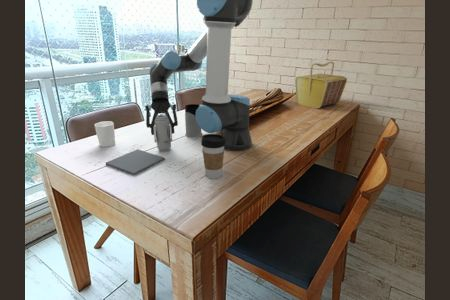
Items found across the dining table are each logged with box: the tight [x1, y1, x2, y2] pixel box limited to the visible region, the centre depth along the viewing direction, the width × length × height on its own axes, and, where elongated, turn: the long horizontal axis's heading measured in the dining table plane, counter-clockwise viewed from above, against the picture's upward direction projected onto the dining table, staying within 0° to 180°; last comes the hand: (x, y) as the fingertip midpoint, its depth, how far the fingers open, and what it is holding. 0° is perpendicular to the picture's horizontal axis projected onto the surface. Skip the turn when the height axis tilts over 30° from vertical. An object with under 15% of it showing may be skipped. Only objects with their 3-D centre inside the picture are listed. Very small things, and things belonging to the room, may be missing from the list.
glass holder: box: [184, 103, 203, 139], centre depth 138 cm, size 9×14×15 cm, turn 152°
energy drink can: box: [155, 114, 172, 152], centre depth 118 cm, size 6×6×15 cm
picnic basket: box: [294, 61, 348, 110], centre depth 197 cm, size 29×26×30 cm
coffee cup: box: [200, 133, 226, 180], centre depth 96 cm, size 8×8×15 cm
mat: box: [105, 148, 166, 176], centre depth 108 cm, size 16×16×1 cm
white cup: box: [94, 120, 116, 148], centre depth 124 cm, size 8×8×10 cm
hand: (163, 140), depth 115 cm, fingers closed on energy drink can, 6 cm apart
